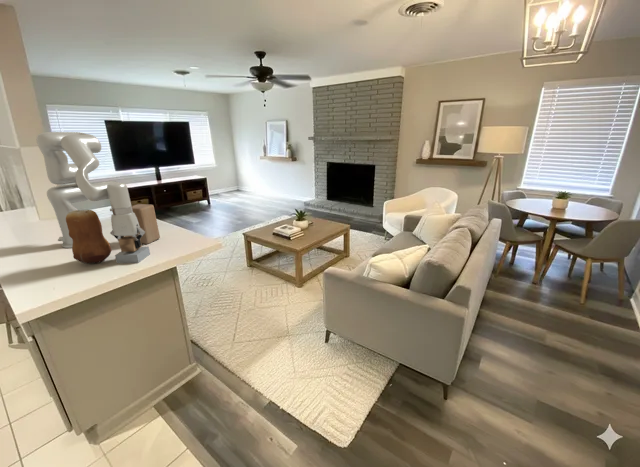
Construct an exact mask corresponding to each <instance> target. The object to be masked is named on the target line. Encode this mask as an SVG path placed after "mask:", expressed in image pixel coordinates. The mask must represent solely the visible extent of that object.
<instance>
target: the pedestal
mask: <svg viewBox="0 0 640 467" xmlns="http://www.w3.org/2000/svg"><path fill="white" fill-rule="evenodd" d="M150 255H151V252H150V247H149V246H142V247H141V248H139V249H138V250H136V251H134V252H121V251H119V252H117V253H116V254H115V255H114V257H115V261H116V263H117V264H132V263H133V264H138V263H140V262H142V261H143V260H144V259H145V258H147V257H148V256H150Z"/></svg>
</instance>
